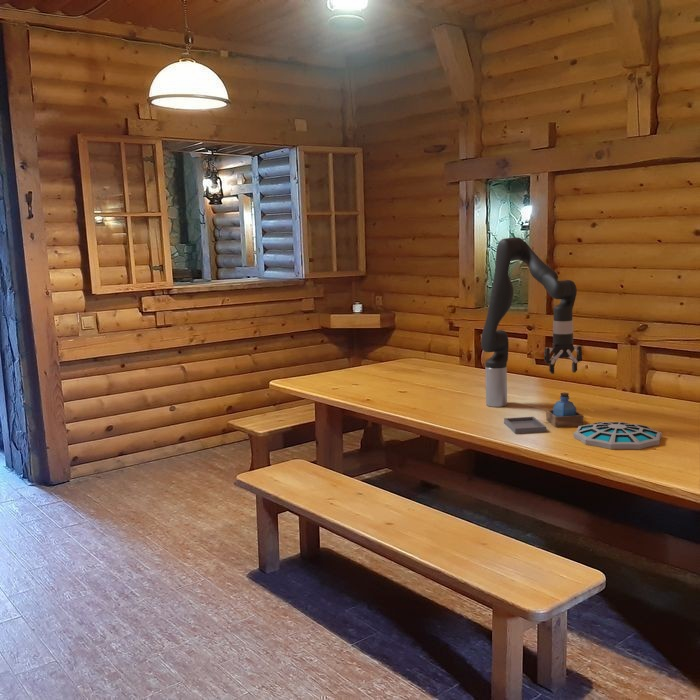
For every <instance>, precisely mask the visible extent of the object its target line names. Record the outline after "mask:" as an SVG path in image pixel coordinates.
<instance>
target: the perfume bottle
mask: <svg viewBox="0 0 700 700" xmlns="http://www.w3.org/2000/svg"><path fill="white" fill-rule="evenodd" d="M559 399H560V400H558V401H556V402H555V404H554V405H553V407H552V410H553V414H554V415H555V416H557V417H560V416H576V411H577V407H576V406H575V404H574V403H573V401H570V396H569V392H560V396H559Z"/></svg>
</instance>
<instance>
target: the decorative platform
mask: <svg viewBox="0 0 700 700" xmlns="http://www.w3.org/2000/svg"><path fill="white" fill-rule="evenodd" d="M662 435H663V433H662V432H661V431H658V430H655V429H654V428H651V427H649V426H647V425H644V424H638V423H630V422H629V423H628V422H624V421H614V422H613V421H597V422H594V423H590V424H584V425H583V426H577V429H576V430H575V431H574V432H573V438H574V439H576V440H578V441H579V442H581V441H582V443H583V444H584V445H585V444H586V445H587V446H592V447H598V448H603V449H608V450H643V449H647V448H650V447H651V448H652V447H655V446H659V445H660V440H661V439H662Z"/></svg>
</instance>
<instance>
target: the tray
mask: <svg viewBox="0 0 700 700" xmlns="http://www.w3.org/2000/svg"><path fill="white" fill-rule="evenodd" d="M503 424H505V426H506V427H507V428H509V429H510V431H512V432H513V433H514V434H515V435H519V434H533V433H535V432H537V433H547V426H546V425H544V423H542V422H541V421H540V420H539V419H537V418H536V417H534V416H521V417H520V416H518V417H505V418H503Z"/></svg>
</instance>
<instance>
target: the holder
mask: <svg viewBox="0 0 700 700" xmlns="http://www.w3.org/2000/svg"><path fill="white" fill-rule="evenodd" d="M545 415H546V422H547V423H549V424H551V425H552V426H553V427H555V428H565V427H568V426H569V427H578V426H583V425H585V423H584V420H585V419H584V416H585V415H583V414H582V413H580V412H579V411H577V410H576V416H560V417H557V416H555V415H554V414H553V409H552V410H551V409H549V410H548V409H547V410H546V413H545Z"/></svg>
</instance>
